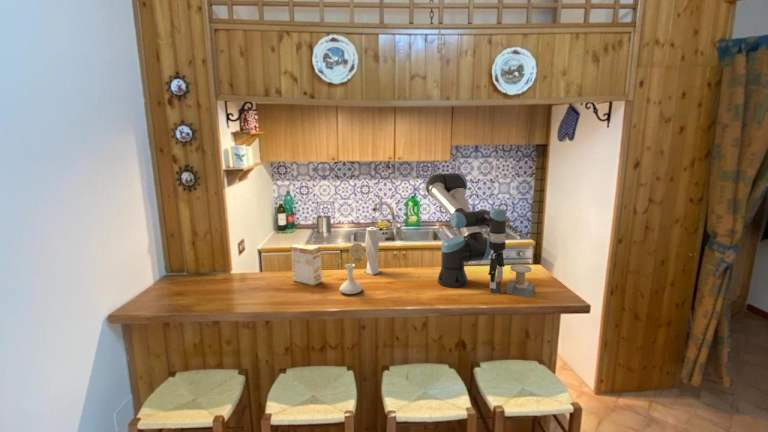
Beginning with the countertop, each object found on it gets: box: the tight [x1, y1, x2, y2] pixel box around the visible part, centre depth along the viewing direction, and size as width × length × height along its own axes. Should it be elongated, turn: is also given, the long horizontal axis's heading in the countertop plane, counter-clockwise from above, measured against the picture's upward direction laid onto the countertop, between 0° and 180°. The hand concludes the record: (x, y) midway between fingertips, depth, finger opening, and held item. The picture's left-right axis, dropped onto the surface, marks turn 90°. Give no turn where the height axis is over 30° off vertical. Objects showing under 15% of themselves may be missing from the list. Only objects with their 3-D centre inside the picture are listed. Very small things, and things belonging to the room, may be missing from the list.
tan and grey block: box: [489, 276, 502, 295], centre depth 201 cm, size 4×4×7 cm
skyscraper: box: [363, 224, 382, 276], centre depth 229 cm, size 8×8×28 cm
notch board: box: [505, 280, 536, 299], centre depth 199 cm, size 12×8×4 cm, turn 61°
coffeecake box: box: [290, 242, 323, 286], centre depth 218 cm, size 15×7×20 cm, turn 58°
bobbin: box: [509, 264, 532, 290], centre depth 208 cm, size 10×10×10 cm
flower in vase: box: [338, 242, 366, 295], centre depth 202 cm, size 13×11×25 cm
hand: (496, 283), depth 200 cm, fingers open, 13 cm apart
